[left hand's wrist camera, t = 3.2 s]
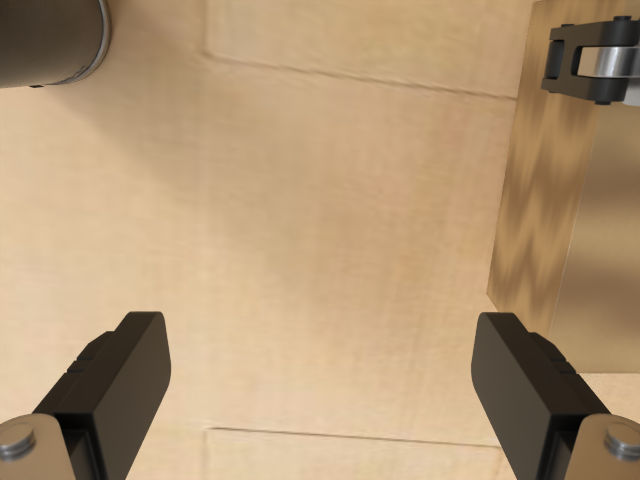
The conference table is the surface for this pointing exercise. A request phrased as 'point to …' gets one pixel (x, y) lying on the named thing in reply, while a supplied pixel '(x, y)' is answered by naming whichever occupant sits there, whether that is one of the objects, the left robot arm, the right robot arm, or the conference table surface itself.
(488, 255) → the conference table surface
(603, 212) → the box
